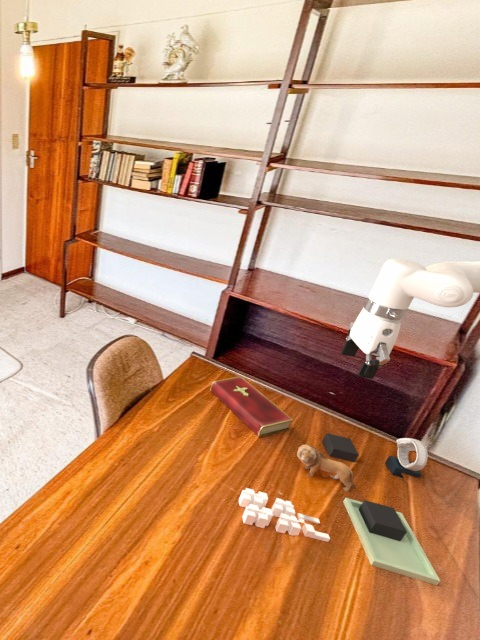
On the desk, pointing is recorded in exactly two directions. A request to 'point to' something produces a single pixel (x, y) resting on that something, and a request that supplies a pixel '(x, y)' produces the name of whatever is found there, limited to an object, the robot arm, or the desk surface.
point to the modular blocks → (277, 515)
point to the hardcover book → (251, 406)
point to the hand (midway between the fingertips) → (355, 365)
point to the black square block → (382, 520)
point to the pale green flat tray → (392, 548)
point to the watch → (403, 462)
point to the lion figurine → (325, 465)
